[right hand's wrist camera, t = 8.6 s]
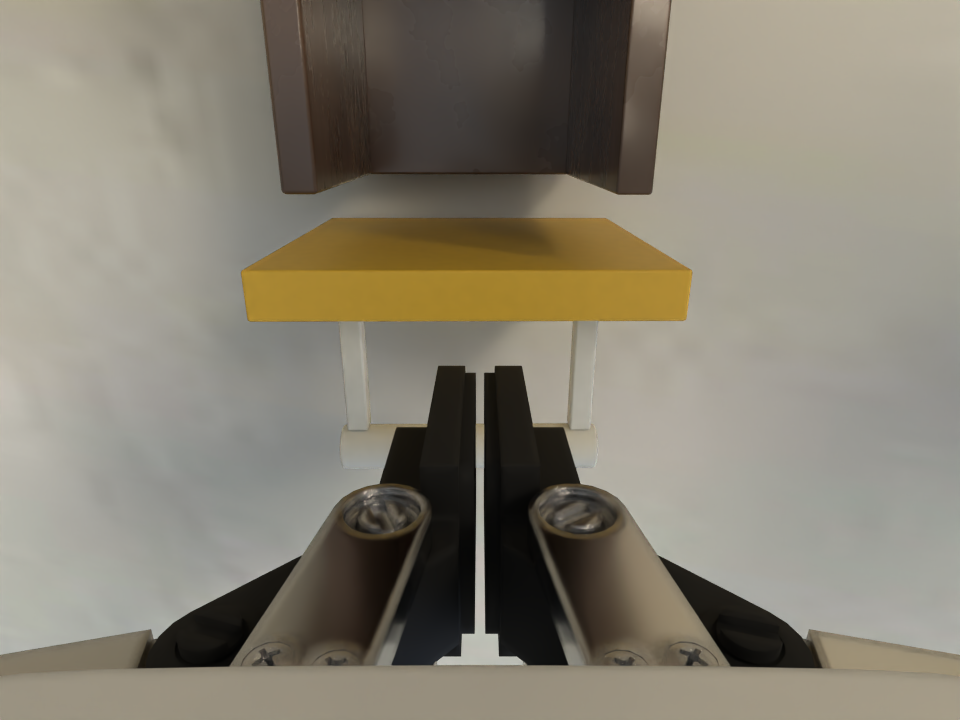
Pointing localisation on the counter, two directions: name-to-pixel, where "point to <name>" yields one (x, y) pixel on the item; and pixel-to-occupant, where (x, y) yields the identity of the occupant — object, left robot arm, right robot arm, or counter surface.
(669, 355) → the counter surface
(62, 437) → the counter surface
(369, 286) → the drawer
